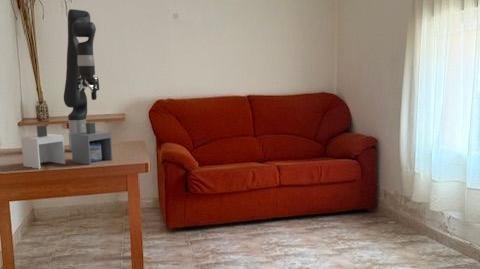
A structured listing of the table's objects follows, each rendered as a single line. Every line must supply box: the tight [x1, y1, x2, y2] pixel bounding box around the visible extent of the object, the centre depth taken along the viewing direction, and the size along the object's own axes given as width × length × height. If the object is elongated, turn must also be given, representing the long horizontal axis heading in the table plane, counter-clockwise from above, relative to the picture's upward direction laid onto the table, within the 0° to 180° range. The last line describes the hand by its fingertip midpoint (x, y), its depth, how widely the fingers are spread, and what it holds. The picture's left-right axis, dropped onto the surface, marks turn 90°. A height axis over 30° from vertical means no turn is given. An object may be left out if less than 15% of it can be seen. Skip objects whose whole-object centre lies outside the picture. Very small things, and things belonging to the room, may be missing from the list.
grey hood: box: [20, 124, 66, 170], centre depth 217 cm, size 13×13×19 cm
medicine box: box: [89, 143, 102, 163], centre depth 225 cm, size 8×4×9 cm, turn 117°
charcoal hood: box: [71, 121, 114, 166], centre depth 224 cm, size 13×13×19 cm
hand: (88, 99), depth 221 cm, fingers open, 8 cm apart
